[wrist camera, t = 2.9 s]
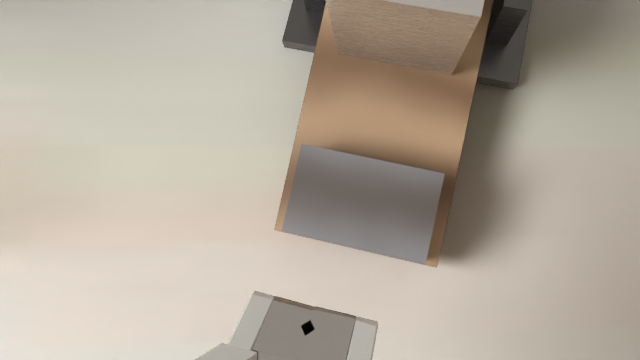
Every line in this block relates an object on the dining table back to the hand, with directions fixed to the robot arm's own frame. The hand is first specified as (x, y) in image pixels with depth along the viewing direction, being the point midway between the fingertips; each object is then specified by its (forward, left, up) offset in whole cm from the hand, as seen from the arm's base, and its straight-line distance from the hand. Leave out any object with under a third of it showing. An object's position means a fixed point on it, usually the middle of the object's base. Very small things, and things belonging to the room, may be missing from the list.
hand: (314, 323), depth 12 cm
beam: (-14, +14, -17) cm, 26 cm away
